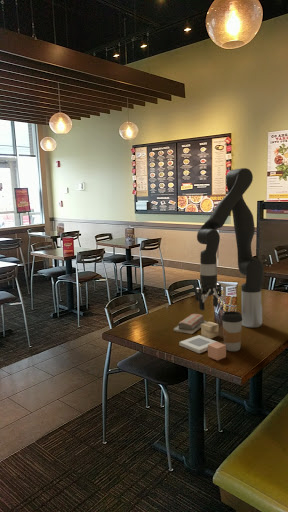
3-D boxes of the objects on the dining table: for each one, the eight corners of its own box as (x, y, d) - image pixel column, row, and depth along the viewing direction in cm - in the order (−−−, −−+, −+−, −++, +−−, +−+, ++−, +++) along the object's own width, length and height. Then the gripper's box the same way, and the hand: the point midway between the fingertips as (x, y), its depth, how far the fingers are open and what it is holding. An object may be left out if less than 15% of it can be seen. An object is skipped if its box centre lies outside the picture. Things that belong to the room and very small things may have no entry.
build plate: (199, 338, 171) (199, 335, 171) (219, 345, 161) (219, 342, 161) (179, 345, 164) (179, 341, 164) (199, 353, 154) (199, 350, 154)
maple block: (209, 332, 177) (209, 321, 177) (218, 335, 173) (218, 324, 172) (201, 335, 174) (201, 324, 173) (210, 338, 170) (209, 327, 169)
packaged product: (189, 311, 196) (207, 314, 191) (189, 320, 197) (207, 323, 192) (173, 322, 181) (192, 325, 176) (173, 332, 182) (192, 335, 176)
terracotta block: (216, 353, 154) (216, 341, 153) (226, 357, 150) (225, 345, 149) (208, 356, 151) (207, 344, 150) (217, 360, 147) (217, 348, 146)
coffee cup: (219, 345, 161) (219, 311, 159) (238, 344, 162) (238, 310, 160) (225, 353, 153) (225, 317, 151) (245, 351, 154) (245, 316, 152)
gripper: (203, 276, 162) (203, 313, 165) (225, 272, 171) (225, 306, 173) (191, 274, 168) (191, 309, 171) (213, 269, 177) (213, 303, 179)
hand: (208, 308), depth 172 cm, fingers open, 8 cm apart
